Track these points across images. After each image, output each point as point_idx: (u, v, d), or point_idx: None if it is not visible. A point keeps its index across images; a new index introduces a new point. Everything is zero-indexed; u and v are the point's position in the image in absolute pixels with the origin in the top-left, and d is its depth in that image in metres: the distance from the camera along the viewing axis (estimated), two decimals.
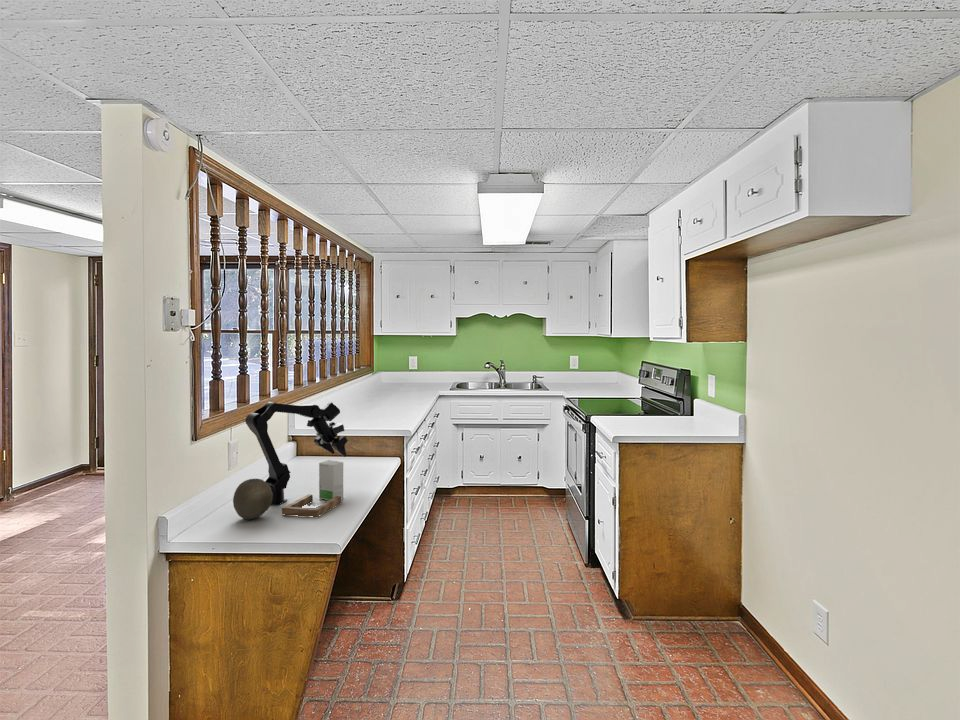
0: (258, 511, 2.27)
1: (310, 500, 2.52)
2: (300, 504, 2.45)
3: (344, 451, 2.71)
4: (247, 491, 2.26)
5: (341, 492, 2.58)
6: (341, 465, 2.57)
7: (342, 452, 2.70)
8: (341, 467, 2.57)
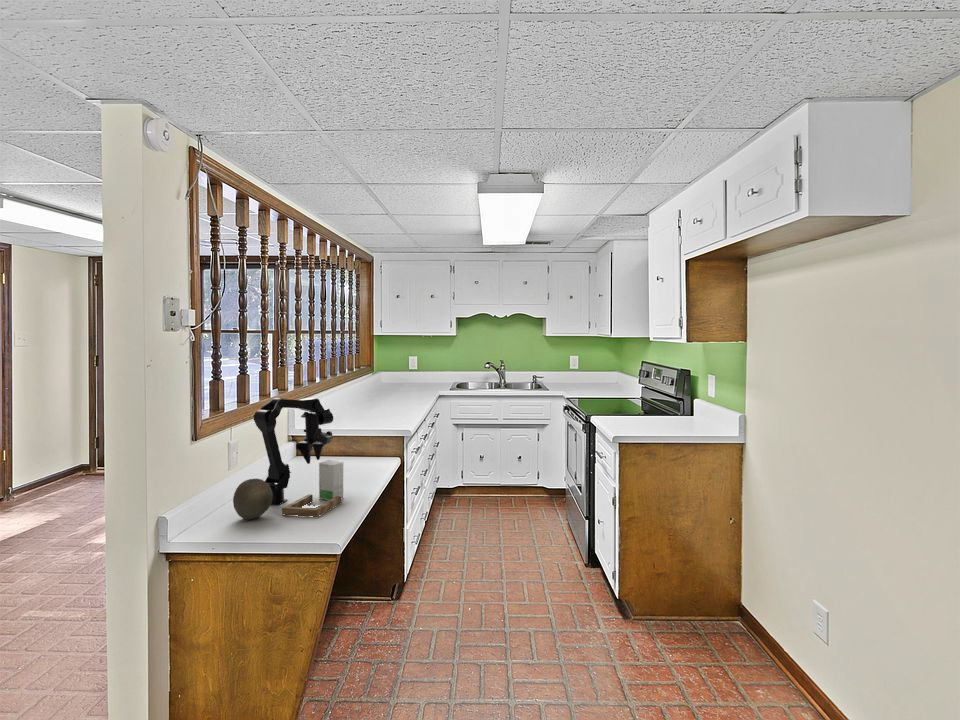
0: (258, 511, 2.27)
1: (310, 500, 2.52)
2: (300, 504, 2.45)
3: (307, 458, 2.66)
4: (247, 491, 2.26)
5: (341, 492, 2.58)
6: (341, 465, 2.57)
7: (305, 457, 2.66)
8: (341, 467, 2.57)
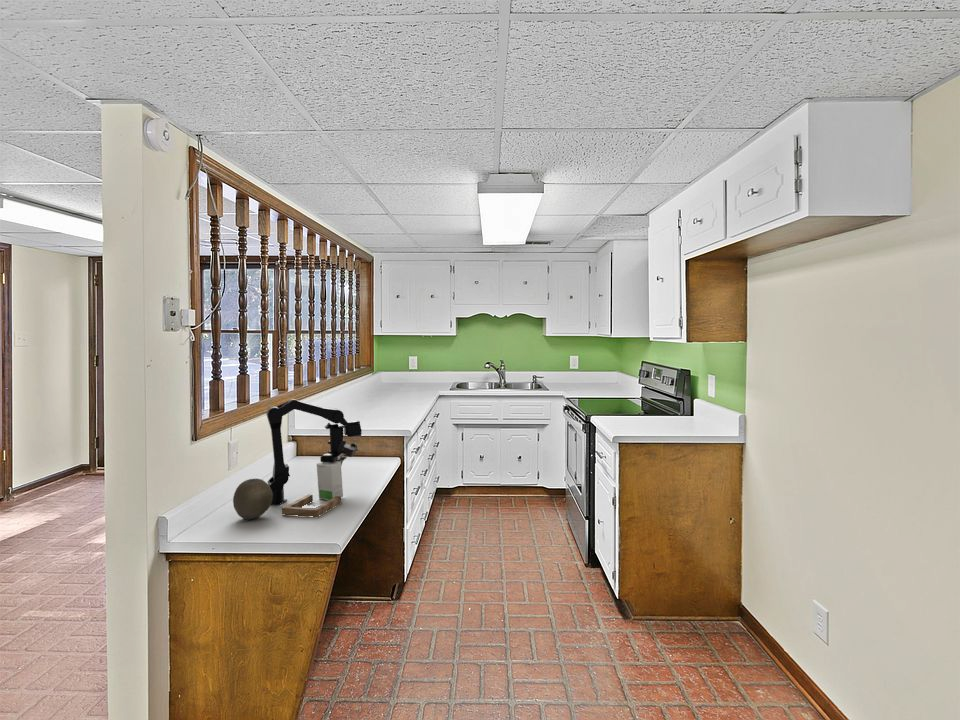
0: (258, 511, 2.27)
1: (310, 500, 2.52)
2: (300, 504, 2.45)
3: None
4: (247, 491, 2.26)
5: (341, 491, 2.57)
6: (339, 465, 2.56)
7: None
8: (339, 467, 2.56)
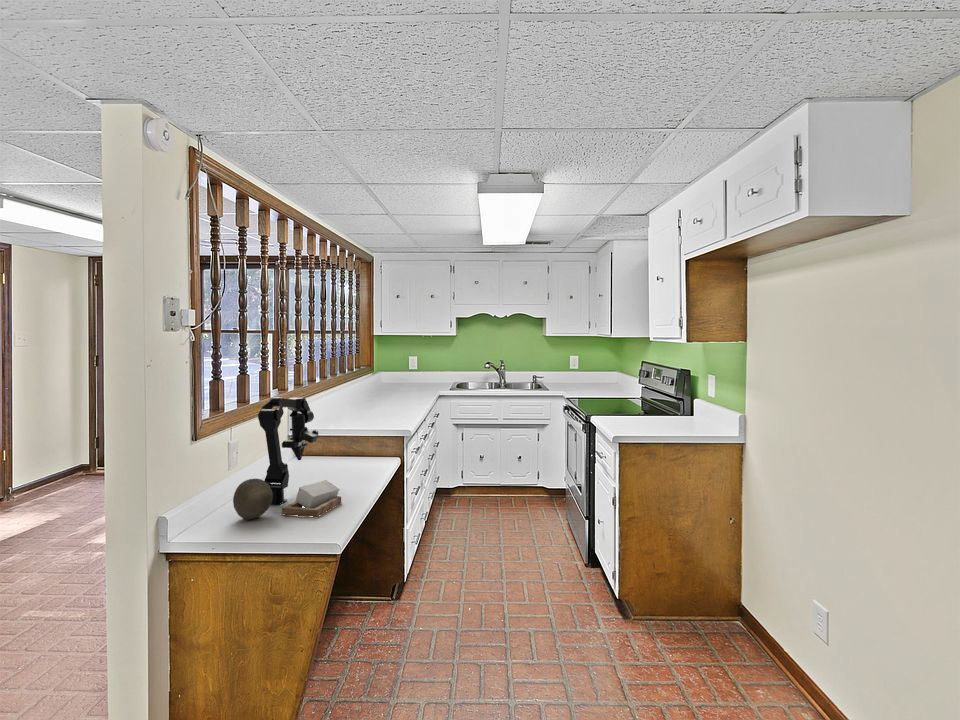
0: (258, 511, 2.27)
1: None
2: (300, 504, 2.45)
3: (298, 454, 2.73)
4: (247, 491, 2.26)
5: (334, 493, 2.50)
6: (314, 499, 2.40)
7: (296, 454, 2.73)
8: (316, 498, 2.41)
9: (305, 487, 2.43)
